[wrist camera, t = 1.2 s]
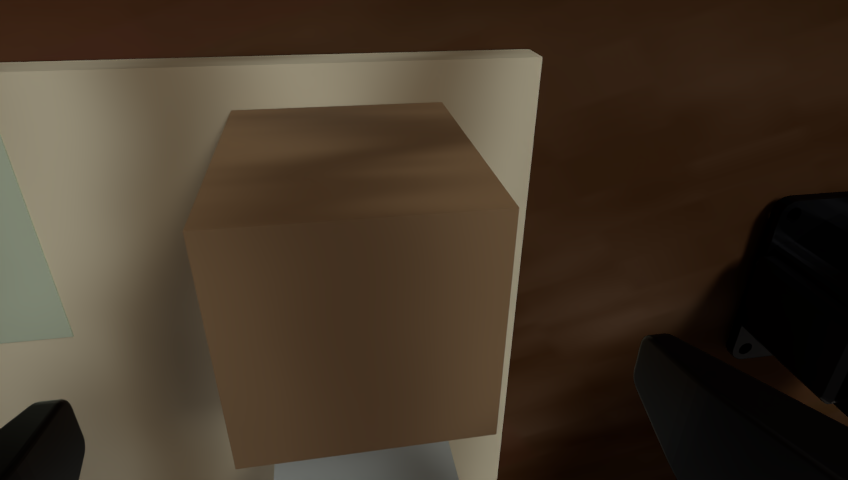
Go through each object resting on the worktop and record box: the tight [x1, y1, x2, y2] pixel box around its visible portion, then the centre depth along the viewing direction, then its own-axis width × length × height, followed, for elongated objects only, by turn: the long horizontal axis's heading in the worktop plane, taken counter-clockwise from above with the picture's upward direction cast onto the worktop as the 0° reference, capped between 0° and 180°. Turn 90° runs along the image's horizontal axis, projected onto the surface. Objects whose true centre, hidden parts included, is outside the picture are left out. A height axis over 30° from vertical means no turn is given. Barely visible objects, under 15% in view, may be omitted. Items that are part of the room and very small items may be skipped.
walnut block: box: [183, 102, 519, 469], centre depth 12 cm, size 5×5×6 cm
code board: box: [0, 49, 542, 480], centre depth 17 cm, size 20×16×1 cm
